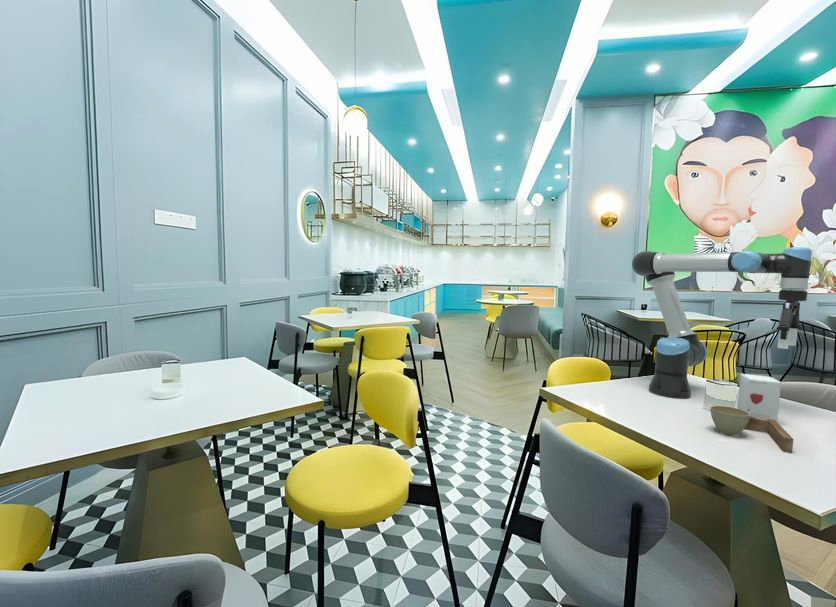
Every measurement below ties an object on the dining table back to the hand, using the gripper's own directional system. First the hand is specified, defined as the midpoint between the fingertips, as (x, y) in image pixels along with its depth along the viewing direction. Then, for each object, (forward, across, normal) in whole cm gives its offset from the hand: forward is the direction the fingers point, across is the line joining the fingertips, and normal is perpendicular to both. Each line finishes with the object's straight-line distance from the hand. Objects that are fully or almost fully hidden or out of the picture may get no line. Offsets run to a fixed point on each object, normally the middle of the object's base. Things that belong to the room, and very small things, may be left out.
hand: (786, 346), depth 145 cm
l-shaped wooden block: (+24, -42, -2) cm, 48 cm away
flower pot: (+25, -44, +4) cm, 51 cm away
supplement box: (+25, -20, +3) cm, 32 cm away
